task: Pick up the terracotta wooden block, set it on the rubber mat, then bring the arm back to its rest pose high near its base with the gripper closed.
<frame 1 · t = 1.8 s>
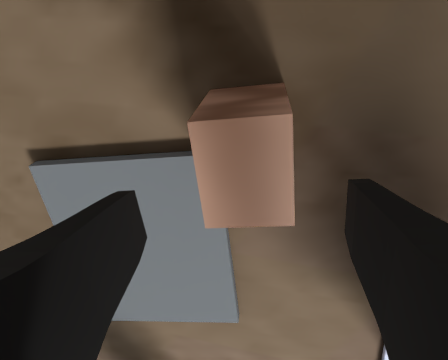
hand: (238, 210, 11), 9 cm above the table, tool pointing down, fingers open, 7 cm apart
block: (249, 130, 19), on the table
mat: (147, 244, 23), on the table
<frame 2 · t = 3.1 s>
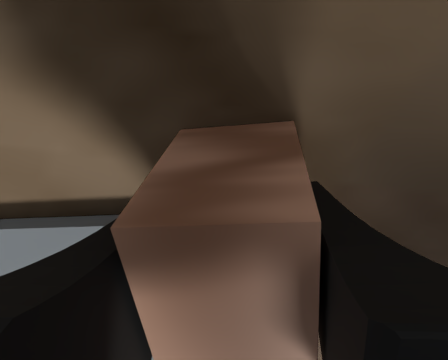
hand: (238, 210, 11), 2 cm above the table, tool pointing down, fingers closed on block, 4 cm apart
block: (241, 187, 12), on the table, touching gripper
mat: (105, 326, 17), on the table
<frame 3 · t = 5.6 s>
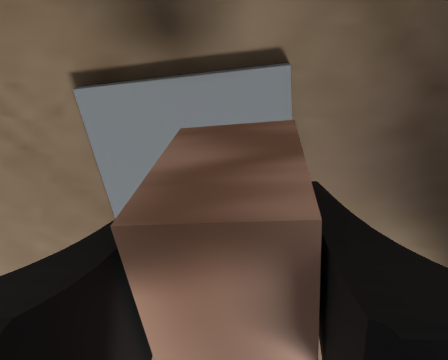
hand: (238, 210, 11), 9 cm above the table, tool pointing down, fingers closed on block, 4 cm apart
block: (242, 186, 12), point 7 cm above the table, touching gripper
mat: (199, 186, 21), on the table
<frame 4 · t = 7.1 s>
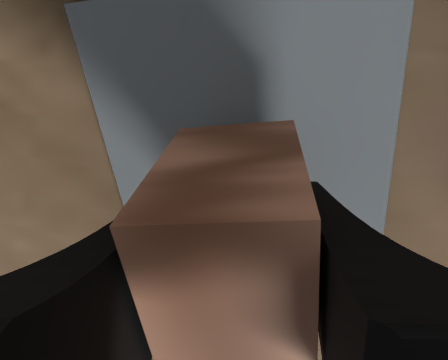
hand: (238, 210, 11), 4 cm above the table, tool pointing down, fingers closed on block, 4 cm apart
block: (241, 186, 12), point 3 cm above the table, touching gripper
mat: (245, 161, 15), on the table
when the fingers open (3 cm above the table, at t = 8.1 s): block stays where it is, resting on mat.
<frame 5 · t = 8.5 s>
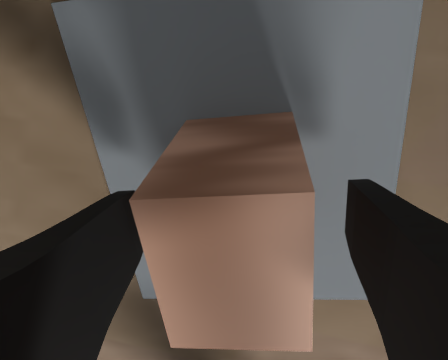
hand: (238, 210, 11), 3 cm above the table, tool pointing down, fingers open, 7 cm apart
block: (243, 175, 13), point 1 cm above the table, touching mat
mat: (244, 168, 14), on the table
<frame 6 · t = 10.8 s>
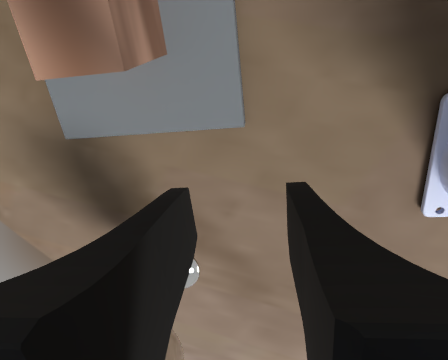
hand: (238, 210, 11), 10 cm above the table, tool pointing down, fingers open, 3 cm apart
block: (123, 9, 17), point 1 cm above the table, touching mat
mat: (128, 10, 18), on the table
wineglass: (174, 267, 27), on the table
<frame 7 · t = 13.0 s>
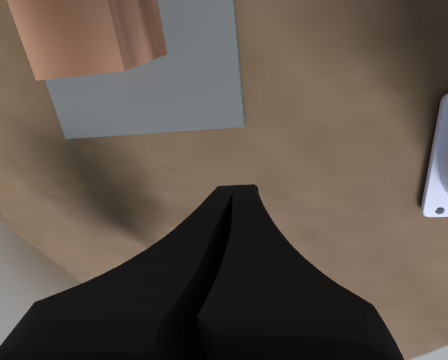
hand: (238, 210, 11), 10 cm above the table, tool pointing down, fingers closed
block: (123, 9, 17), point 1 cm above the table, touching mat
mat: (128, 10, 18), on the table
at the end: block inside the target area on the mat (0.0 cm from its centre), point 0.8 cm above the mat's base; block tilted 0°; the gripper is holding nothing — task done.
